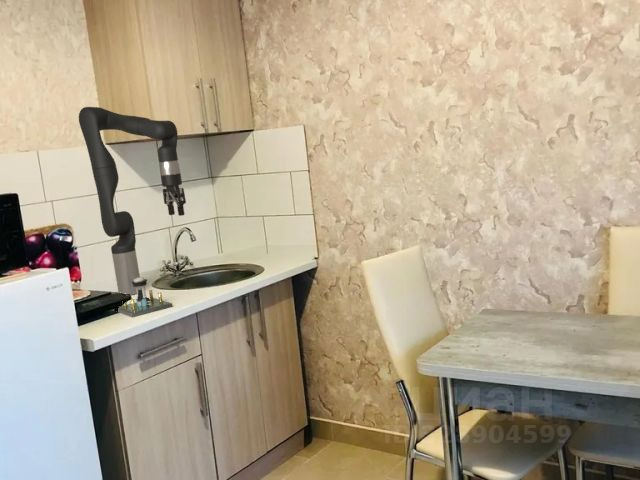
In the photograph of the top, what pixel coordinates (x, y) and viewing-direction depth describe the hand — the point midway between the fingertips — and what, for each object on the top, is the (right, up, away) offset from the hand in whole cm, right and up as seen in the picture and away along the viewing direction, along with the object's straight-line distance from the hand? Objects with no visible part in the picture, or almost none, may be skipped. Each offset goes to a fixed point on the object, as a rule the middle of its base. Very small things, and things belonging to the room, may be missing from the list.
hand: (176, 215), depth 251 cm
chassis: (-8, -34, -18) cm, 39 cm away
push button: (-7, -33, -18) cm, 39 cm away
